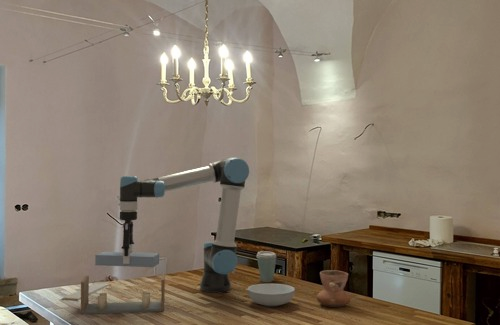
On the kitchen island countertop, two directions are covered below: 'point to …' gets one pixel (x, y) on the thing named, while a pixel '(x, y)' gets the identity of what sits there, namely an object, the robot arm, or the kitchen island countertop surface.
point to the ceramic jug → (333, 289)
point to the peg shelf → (119, 307)
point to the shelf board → (135, 259)
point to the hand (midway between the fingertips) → (127, 261)
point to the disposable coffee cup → (266, 265)
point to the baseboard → (92, 290)
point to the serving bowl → (271, 294)
